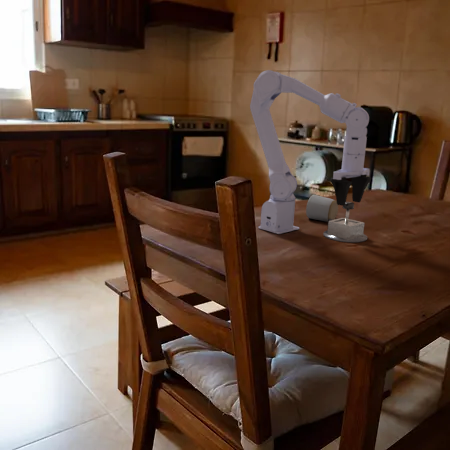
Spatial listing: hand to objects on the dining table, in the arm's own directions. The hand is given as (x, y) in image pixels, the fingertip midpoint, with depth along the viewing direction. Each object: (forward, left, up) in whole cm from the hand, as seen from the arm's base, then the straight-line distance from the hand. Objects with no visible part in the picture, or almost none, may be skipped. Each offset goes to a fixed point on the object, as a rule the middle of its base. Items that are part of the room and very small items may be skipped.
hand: (348, 203), depth 140 cm
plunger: (0, 0, -6) cm, 6 cm away
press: (0, 0, -9) cm, 9 cm away
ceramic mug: (+11, +16, -10) cm, 22 cm away
